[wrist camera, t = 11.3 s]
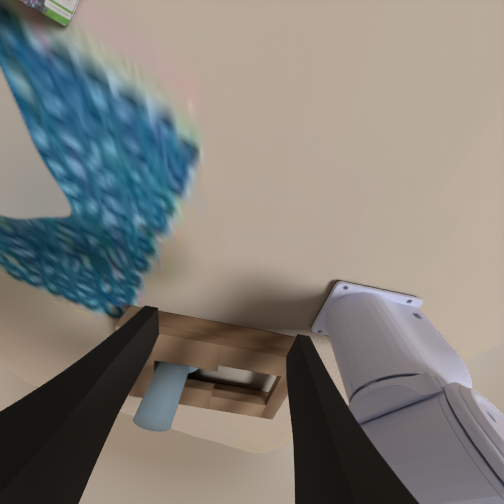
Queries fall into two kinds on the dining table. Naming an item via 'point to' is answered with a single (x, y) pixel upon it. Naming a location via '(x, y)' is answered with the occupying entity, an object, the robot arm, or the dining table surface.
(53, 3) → the syrup box
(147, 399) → the footed peg
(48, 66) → the dining table surface
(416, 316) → the robot arm
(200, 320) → the keyhole bridge
